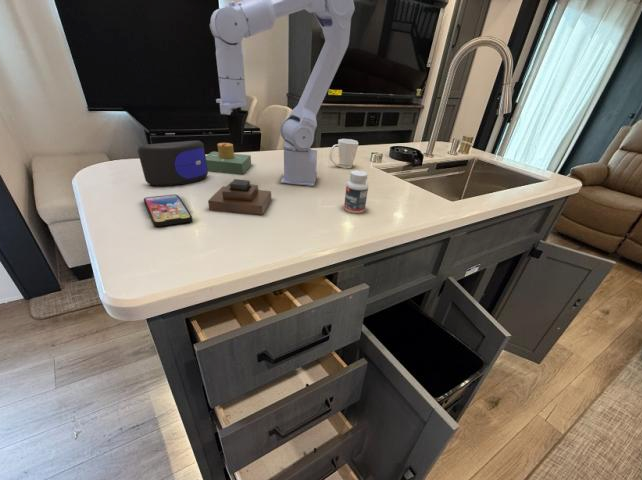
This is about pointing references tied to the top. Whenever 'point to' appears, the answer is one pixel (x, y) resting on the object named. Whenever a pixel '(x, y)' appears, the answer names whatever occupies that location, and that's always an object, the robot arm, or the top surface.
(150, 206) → the smartphone
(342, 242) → the top surface
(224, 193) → the switch plate
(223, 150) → the dimmer knob
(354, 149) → the cup
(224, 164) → the green flat block
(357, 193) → the pill bottle
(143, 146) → the leaning round-cornered charcoal block
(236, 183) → the switch button
